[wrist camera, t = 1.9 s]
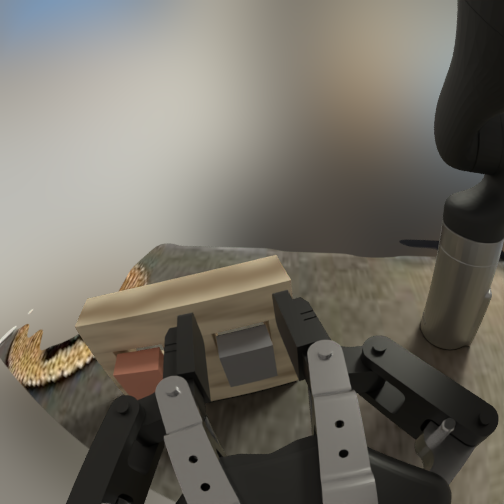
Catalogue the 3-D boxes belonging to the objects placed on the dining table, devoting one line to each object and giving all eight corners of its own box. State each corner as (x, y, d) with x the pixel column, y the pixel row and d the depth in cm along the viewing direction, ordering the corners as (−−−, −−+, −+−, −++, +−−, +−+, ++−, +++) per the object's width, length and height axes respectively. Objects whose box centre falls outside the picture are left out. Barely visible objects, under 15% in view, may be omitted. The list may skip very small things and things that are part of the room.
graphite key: (226, 366, 29) (215, 335, 26) (270, 355, 29) (265, 324, 27) (230, 387, 26) (219, 358, 24) (277, 375, 27) (272, 345, 24)
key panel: (140, 383, 35) (87, 298, 27) (287, 353, 37) (276, 254, 29) (138, 410, 30) (74, 327, 23) (298, 379, 33) (290, 279, 25)
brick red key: (136, 381, 28) (117, 353, 25) (175, 376, 28) (159, 347, 26) (134, 401, 25) (113, 375, 23) (176, 397, 26) (157, 369, 23)
